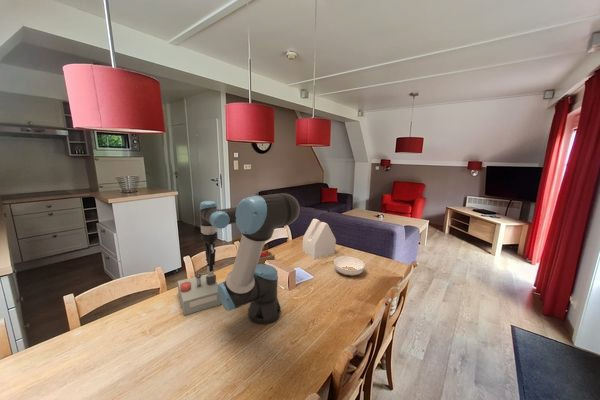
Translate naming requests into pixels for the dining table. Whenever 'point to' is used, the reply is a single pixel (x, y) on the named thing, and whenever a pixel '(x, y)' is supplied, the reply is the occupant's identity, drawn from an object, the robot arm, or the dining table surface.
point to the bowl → (349, 265)
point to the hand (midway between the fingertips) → (210, 275)
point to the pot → (198, 280)
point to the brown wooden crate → (269, 257)
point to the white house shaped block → (319, 240)
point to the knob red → (185, 286)
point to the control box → (198, 295)
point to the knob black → (211, 279)
